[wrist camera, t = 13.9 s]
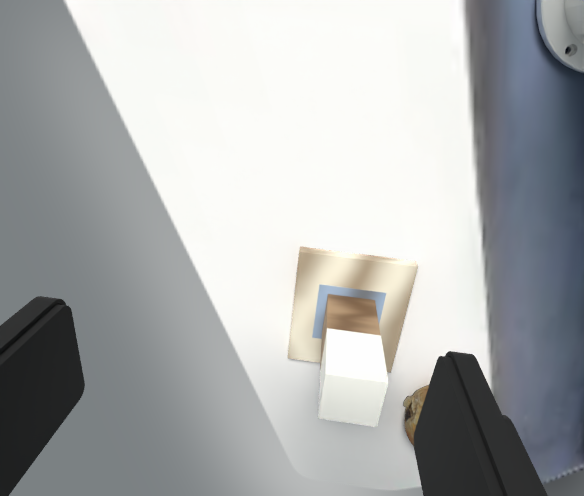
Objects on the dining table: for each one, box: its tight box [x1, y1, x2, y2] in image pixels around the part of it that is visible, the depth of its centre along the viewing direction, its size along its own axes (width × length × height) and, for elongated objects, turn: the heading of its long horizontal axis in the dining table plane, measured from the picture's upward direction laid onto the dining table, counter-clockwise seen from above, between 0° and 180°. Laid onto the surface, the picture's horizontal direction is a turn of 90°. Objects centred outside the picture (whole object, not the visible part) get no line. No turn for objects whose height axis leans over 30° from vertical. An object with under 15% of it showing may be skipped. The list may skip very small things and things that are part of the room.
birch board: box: [288, 247, 418, 373], centre depth 45 cm, size 12×14×1 cm
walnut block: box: [320, 294, 381, 368], centre depth 41 cm, size 5×5×6 cm
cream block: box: [318, 328, 388, 427], centre depth 36 cm, size 5×5×6 cm
